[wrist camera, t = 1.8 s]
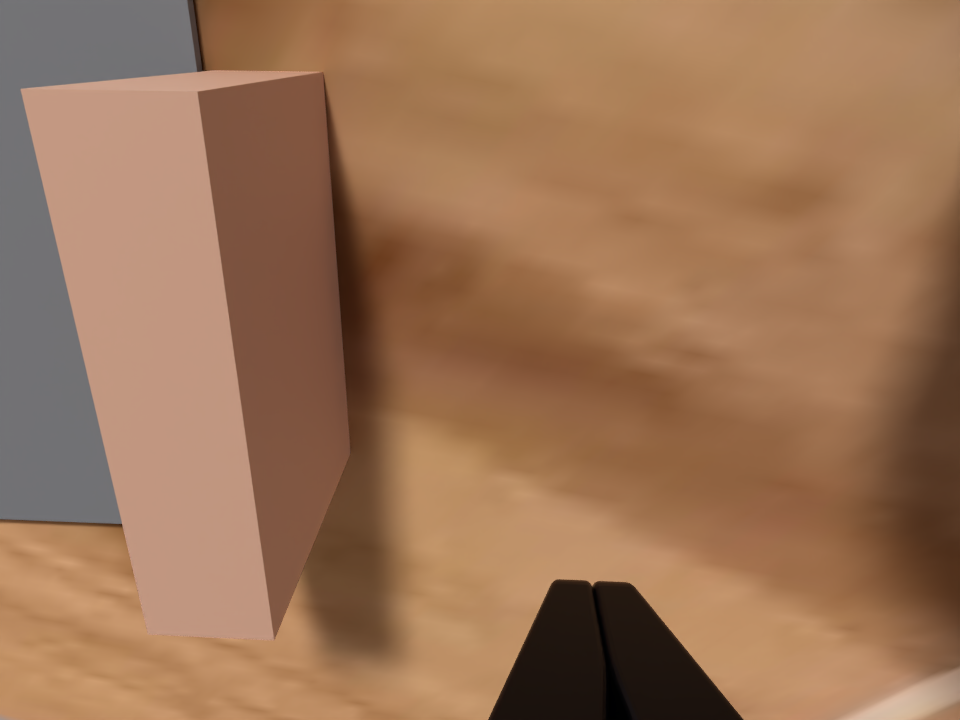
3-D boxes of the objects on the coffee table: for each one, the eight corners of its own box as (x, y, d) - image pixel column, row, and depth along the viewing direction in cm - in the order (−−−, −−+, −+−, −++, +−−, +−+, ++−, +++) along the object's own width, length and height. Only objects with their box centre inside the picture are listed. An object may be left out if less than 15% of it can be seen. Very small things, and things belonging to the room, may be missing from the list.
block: (324, 71, 16) (197, 91, 10) (351, 451, 20) (274, 640, 14) (214, 69, 16) (20, 88, 10) (264, 448, 20) (148, 634, 14)
